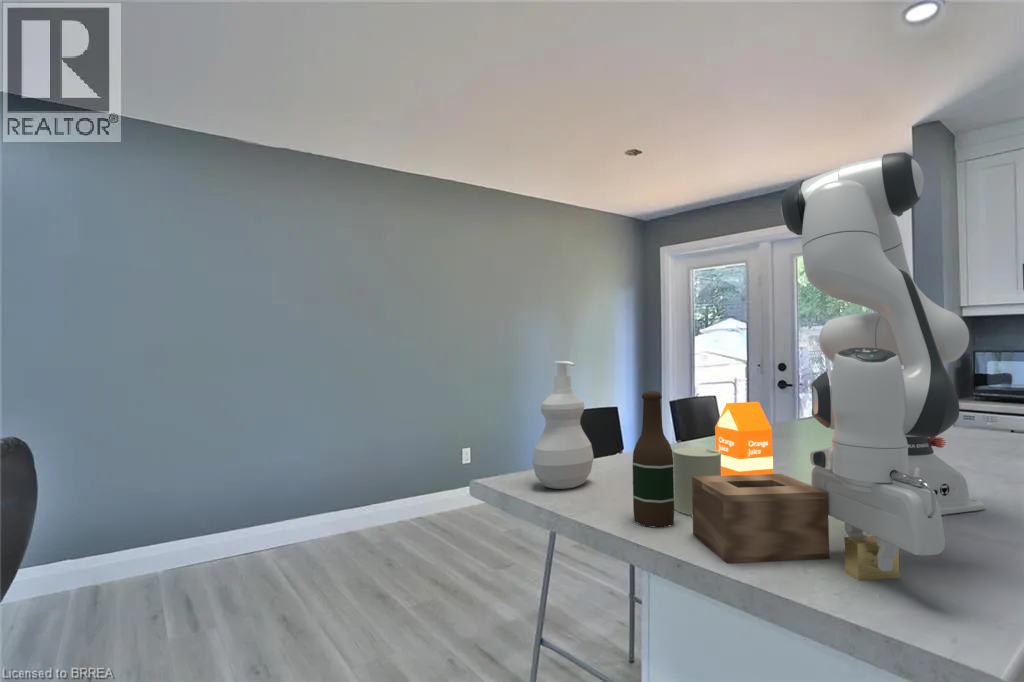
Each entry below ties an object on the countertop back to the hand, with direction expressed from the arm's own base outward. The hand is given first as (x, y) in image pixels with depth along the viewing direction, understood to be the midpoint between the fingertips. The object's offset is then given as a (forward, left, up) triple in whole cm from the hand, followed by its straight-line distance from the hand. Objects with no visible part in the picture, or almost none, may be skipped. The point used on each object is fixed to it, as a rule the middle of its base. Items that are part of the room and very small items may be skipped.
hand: (871, 563), depth 74 cm
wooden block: (0, 0, -2) cm, 2 cm away
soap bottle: (+34, -54, -2) cm, 64 cm away
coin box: (+10, -12, -2) cm, 16 cm away
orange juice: (-4, -42, -2) cm, 42 cm away
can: (+11, -32, -2) cm, 34 cm away
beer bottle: (+22, -26, -2) cm, 34 cm away
